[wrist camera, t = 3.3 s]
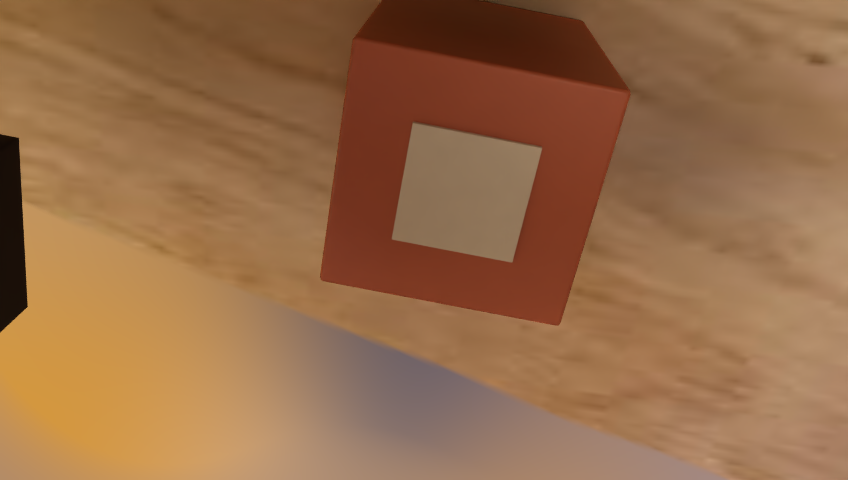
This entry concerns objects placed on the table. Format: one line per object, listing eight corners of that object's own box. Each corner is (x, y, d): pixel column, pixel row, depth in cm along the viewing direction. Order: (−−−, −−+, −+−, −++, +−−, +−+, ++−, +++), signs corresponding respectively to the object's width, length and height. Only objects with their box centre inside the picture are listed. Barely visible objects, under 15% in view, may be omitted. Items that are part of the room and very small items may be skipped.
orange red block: (365, 163, 22) (317, 284, 15) (393, -17, 20) (351, 37, 13) (537, 196, 22) (560, 330, 16) (584, 20, 20) (633, 92, 13)
